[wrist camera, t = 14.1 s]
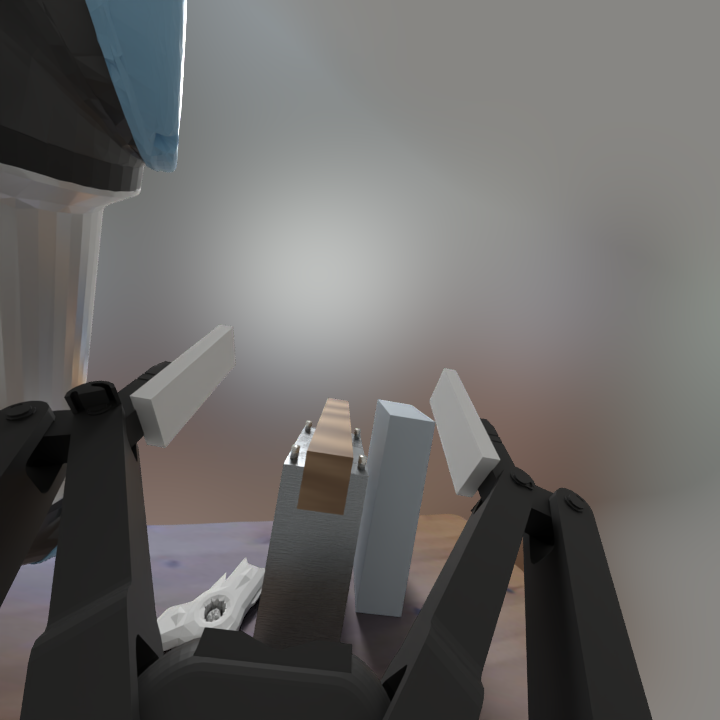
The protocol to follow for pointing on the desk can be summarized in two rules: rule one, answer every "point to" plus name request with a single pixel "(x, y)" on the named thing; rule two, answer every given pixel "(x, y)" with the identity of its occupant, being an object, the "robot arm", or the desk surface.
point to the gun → (213, 607)
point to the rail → (328, 461)
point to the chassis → (309, 557)
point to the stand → (391, 507)
